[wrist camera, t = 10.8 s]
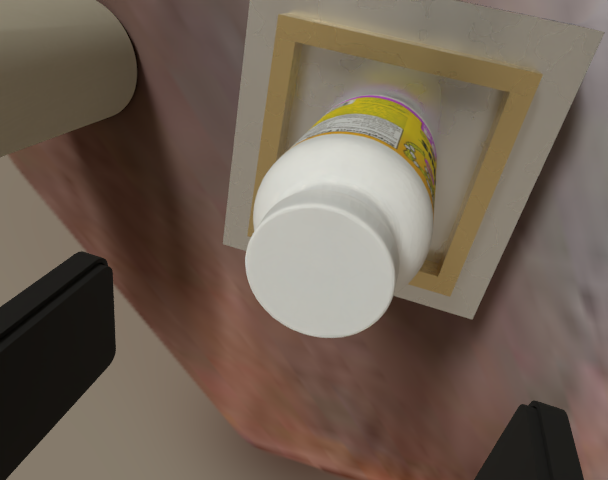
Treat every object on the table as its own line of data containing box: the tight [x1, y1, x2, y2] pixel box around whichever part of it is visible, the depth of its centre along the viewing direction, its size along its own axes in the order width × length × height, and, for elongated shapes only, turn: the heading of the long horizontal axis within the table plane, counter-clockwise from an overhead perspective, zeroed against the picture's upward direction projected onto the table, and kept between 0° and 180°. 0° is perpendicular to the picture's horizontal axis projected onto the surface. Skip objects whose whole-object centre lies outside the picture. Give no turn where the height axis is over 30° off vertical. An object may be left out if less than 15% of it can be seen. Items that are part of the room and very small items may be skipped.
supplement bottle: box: [245, 95, 437, 338], centre depth 20 cm, size 7×7×13 cm
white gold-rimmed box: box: [223, 0, 605, 319], centre depth 27 cm, size 16×18×6 cm
